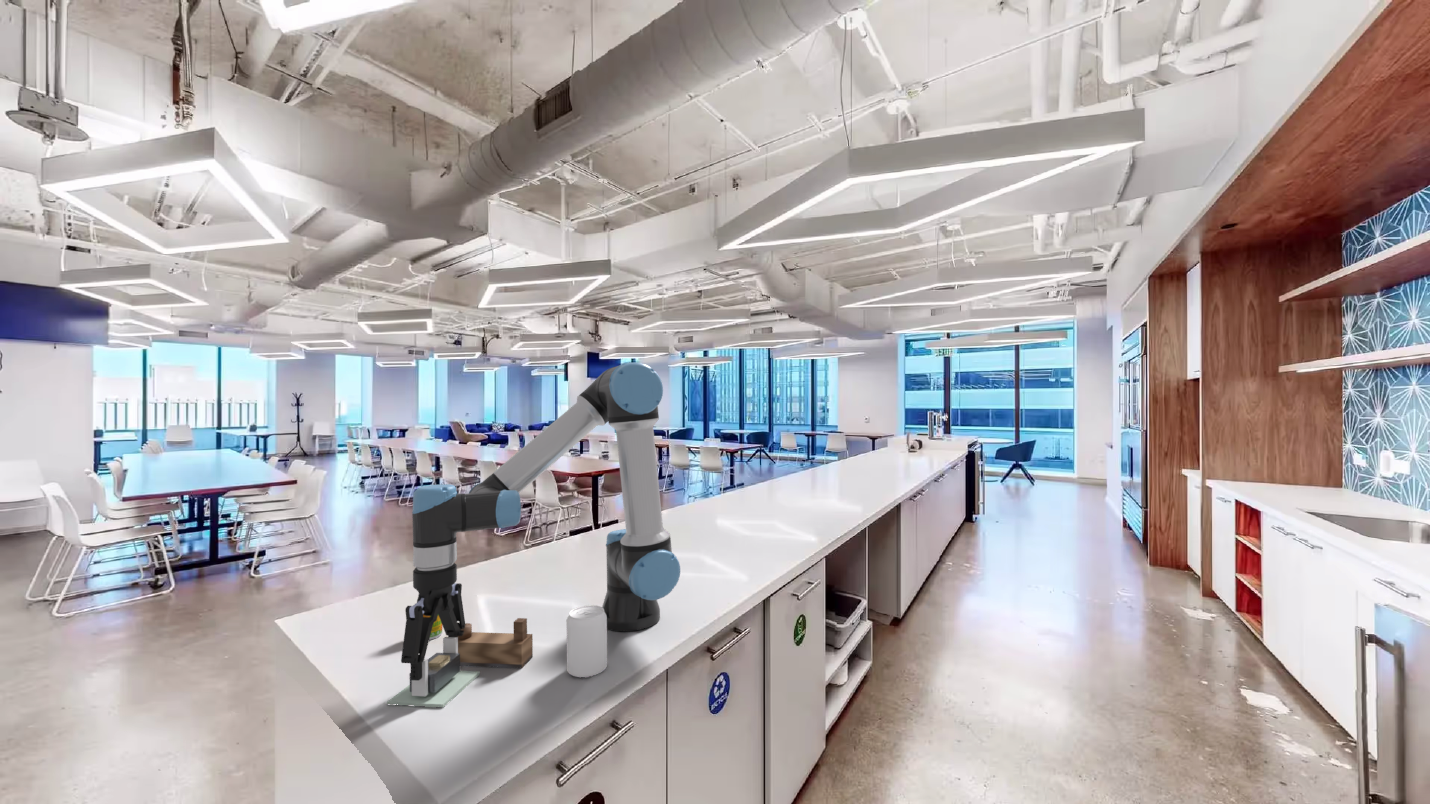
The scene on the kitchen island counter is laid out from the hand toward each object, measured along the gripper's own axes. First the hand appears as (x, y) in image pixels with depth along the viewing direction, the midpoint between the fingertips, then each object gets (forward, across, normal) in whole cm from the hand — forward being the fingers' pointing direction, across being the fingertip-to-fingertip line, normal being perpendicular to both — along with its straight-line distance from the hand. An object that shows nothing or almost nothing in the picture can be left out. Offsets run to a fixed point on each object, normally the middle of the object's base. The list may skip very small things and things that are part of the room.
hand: (436, 681), depth 101 cm
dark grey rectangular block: (0, 0, 0) cm, 0 cm away
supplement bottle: (+2, -22, -17) cm, 28 cm away
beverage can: (+2, -10, +27) cm, 29 cm away
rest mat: (+1, 0, 0) cm, 1 cm away
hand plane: (+1, -12, +5) cm, 13 cm away
